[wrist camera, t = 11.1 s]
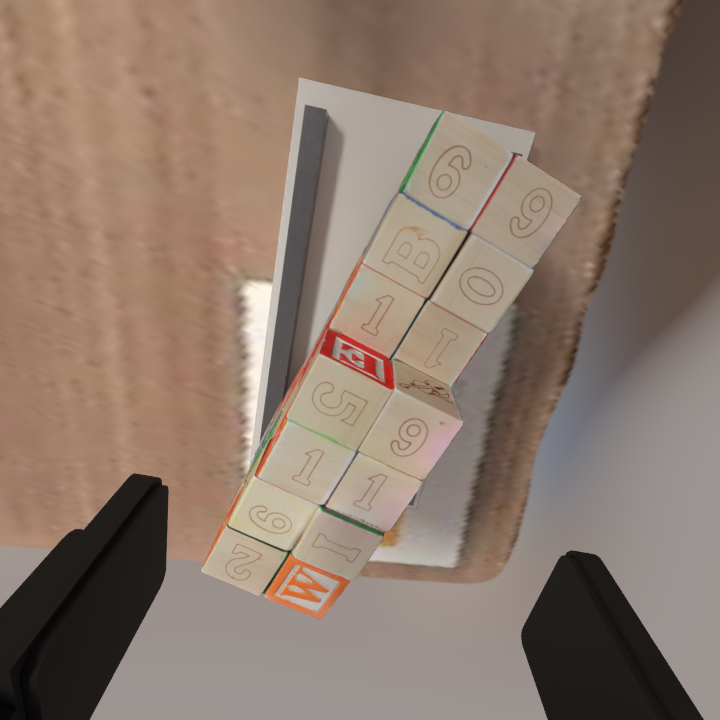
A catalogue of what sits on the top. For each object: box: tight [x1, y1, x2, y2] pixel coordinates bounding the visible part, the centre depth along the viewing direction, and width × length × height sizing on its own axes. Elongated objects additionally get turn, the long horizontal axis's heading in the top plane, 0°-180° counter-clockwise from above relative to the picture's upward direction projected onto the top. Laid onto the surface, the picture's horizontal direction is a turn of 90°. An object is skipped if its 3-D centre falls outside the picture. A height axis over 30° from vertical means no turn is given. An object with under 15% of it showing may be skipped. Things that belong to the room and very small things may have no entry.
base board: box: [249, 78, 536, 509], centre depth 28 cm, size 28×14×3 cm, turn 168°
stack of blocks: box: [201, 110, 582, 619], centre depth 21 cm, size 21×6×12 cm, turn 151°
